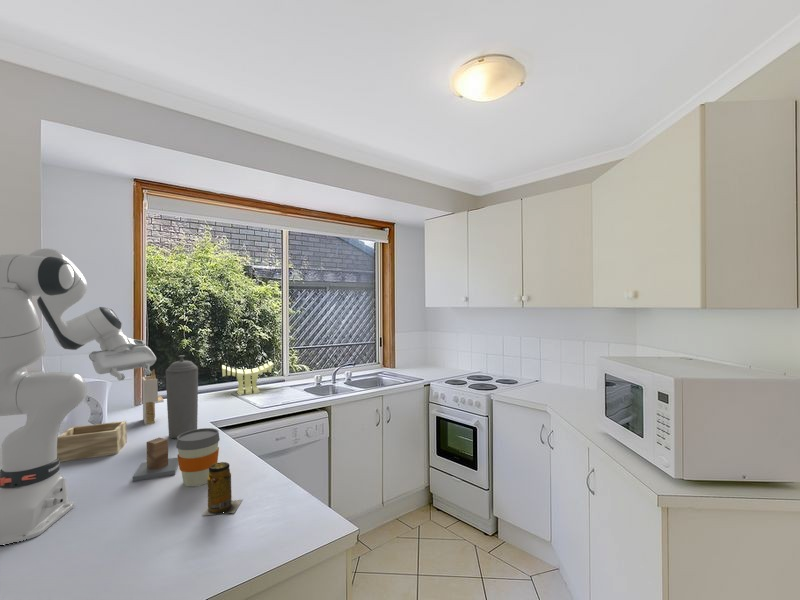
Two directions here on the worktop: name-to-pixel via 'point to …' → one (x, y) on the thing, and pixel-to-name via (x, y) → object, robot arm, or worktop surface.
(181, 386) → the canister
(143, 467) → the slate coaster
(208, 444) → the reusable coffee cup
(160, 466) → the walnut block
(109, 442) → the bamboo organizer
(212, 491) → the condiment
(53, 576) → the worktop surface
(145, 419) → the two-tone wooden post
